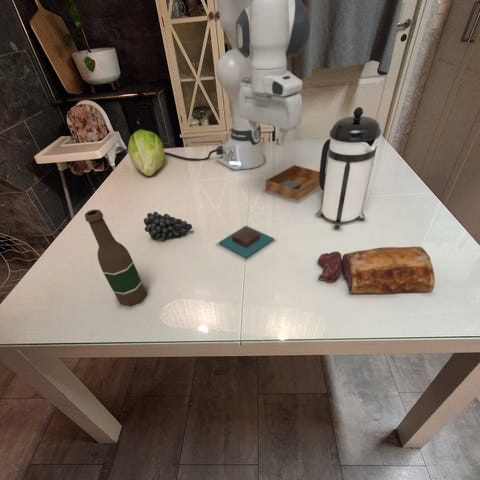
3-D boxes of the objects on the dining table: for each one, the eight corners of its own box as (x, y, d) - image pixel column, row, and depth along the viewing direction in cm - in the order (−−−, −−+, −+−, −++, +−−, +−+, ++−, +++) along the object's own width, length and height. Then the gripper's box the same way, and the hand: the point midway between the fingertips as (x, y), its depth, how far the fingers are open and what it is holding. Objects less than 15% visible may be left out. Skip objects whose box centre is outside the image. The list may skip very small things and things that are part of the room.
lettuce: (171, 184, 137) (139, 193, 138) (166, 148, 146) (136, 157, 148) (158, 157, 124) (122, 168, 125) (154, 119, 133) (121, 129, 134)
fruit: (189, 204, 92) (141, 207, 93) (188, 225, 89) (138, 228, 89) (194, 223, 100) (150, 226, 101) (193, 243, 97) (148, 246, 97)
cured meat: (311, 256, 84) (314, 235, 79) (402, 249, 83) (410, 227, 78) (324, 301, 72) (328, 279, 67) (431, 294, 70) (443, 271, 65)
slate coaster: (277, 190, 112) (277, 185, 111) (288, 185, 115) (288, 179, 113) (290, 195, 109) (290, 189, 107) (300, 189, 111) (300, 183, 110)
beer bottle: (121, 289, 82) (78, 205, 64) (149, 285, 82) (114, 201, 64) (115, 308, 77) (67, 224, 59) (145, 305, 76) (106, 219, 59)
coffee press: (368, 208, 99) (395, 98, 77) (359, 233, 90) (387, 116, 68) (316, 201, 105) (327, 98, 83) (303, 224, 96) (312, 115, 73)
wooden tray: (265, 191, 114) (265, 180, 111) (293, 175, 121) (294, 164, 118) (297, 202, 106) (297, 190, 103) (325, 184, 113) (326, 173, 110)
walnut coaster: (232, 241, 91) (231, 235, 90) (246, 232, 94) (245, 227, 92) (246, 248, 88) (245, 242, 87) (260, 239, 91) (259, 233, 89)
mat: (219, 244, 92) (218, 242, 92) (246, 227, 97) (246, 225, 97) (246, 258, 86) (246, 256, 85) (273, 240, 91) (273, 238, 91)
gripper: (231, 78, 79) (235, 136, 90) (291, 88, 69) (287, 153, 79) (248, 74, 82) (249, 131, 92) (308, 83, 72) (302, 146, 82)
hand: (267, 141), depth 86 cm, fingers open, 8 cm apart
